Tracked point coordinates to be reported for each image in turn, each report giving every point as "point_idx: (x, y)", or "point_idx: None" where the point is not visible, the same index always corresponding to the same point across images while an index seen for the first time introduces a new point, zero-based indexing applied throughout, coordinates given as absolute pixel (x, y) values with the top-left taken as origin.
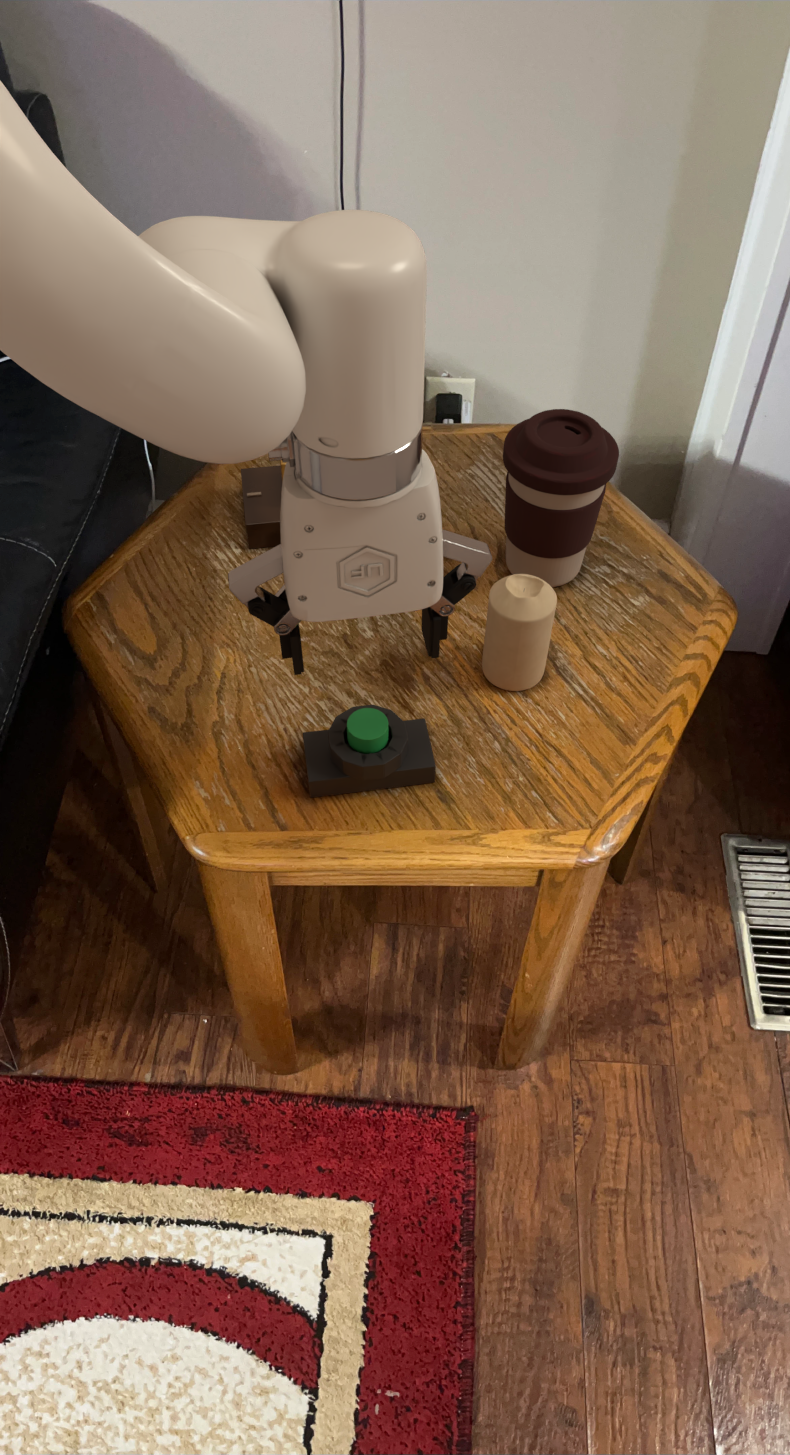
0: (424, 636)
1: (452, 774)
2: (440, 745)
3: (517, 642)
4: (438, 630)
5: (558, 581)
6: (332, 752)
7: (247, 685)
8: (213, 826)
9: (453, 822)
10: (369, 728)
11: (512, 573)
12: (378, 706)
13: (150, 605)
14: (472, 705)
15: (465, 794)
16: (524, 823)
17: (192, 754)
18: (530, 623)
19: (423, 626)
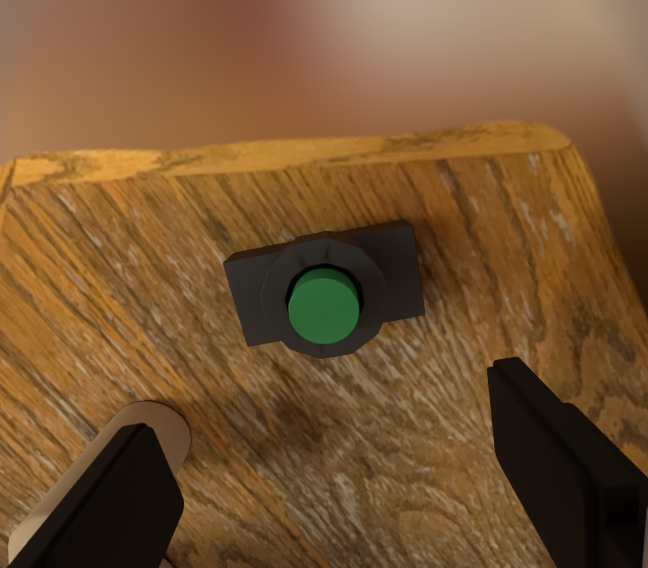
0: (165, 486)
1: (210, 268)
2: (231, 314)
3: None
4: (52, 517)
5: None
6: (379, 267)
7: None
8: (546, 161)
9: (200, 187)
10: (319, 301)
11: (168, 565)
12: (311, 355)
13: None
14: (196, 378)
15: (189, 236)
16: (102, 190)
17: (574, 285)
18: (47, 510)
19: (161, 518)
